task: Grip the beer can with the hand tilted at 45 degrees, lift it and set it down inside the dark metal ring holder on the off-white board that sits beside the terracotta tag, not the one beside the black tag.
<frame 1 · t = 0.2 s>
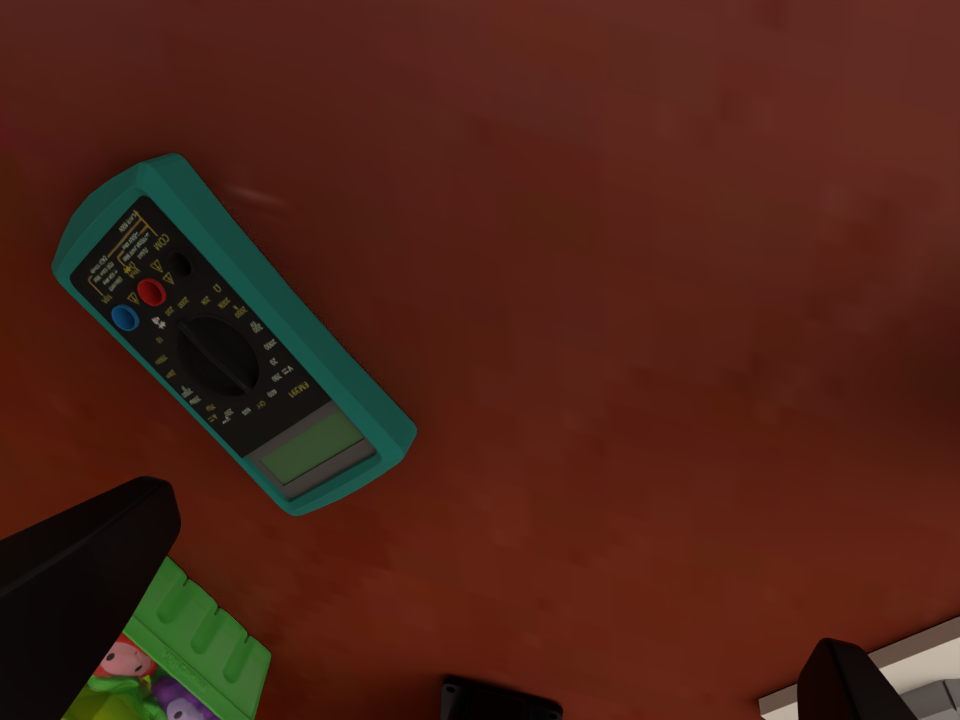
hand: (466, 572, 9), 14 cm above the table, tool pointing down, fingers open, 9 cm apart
digital multimeter: (261, 335, 27), on the table
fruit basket: (193, 615, 38), on the table
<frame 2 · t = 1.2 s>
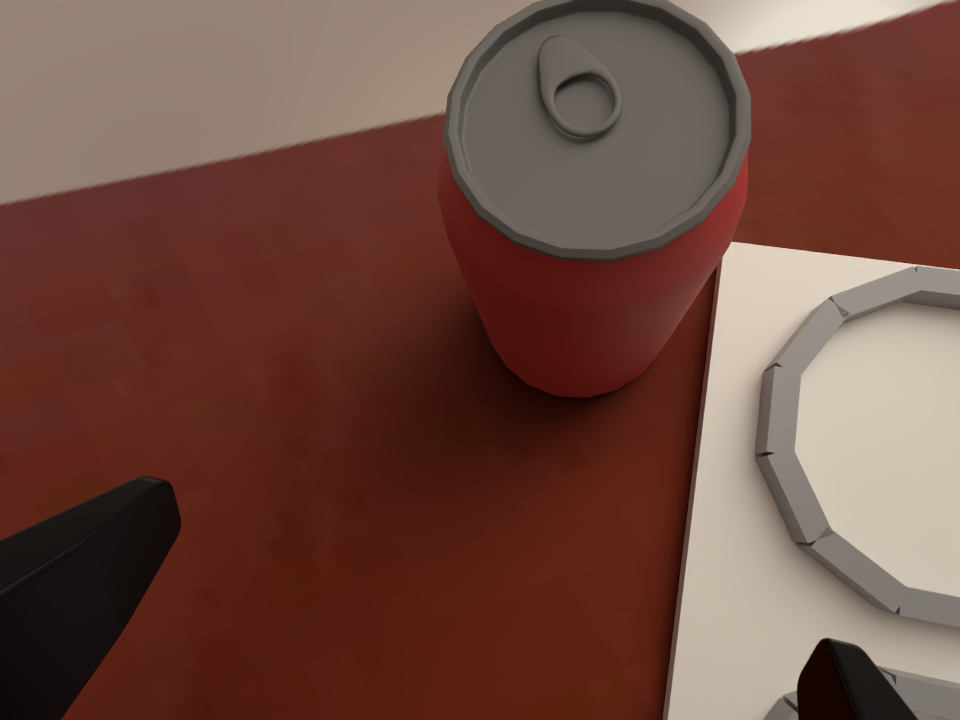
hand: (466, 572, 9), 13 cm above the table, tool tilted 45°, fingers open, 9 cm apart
beer can: (575, 314, 23), on the table
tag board: (911, 641, 19), on the table
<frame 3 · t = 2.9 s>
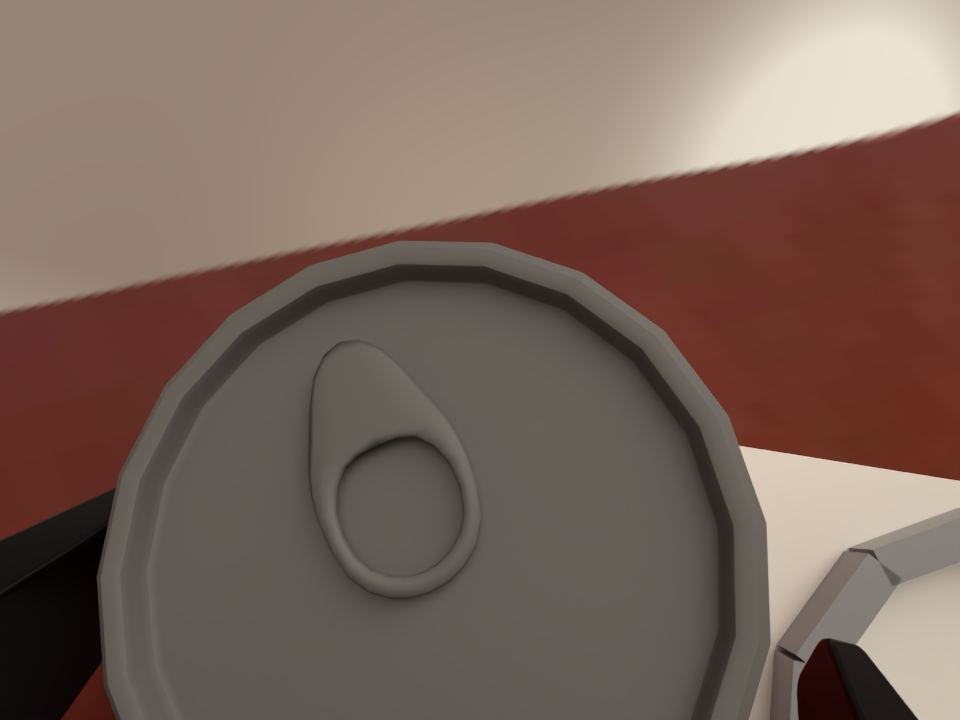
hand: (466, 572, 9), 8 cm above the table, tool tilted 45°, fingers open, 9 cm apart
beer can: (512, 533, 17), on the table
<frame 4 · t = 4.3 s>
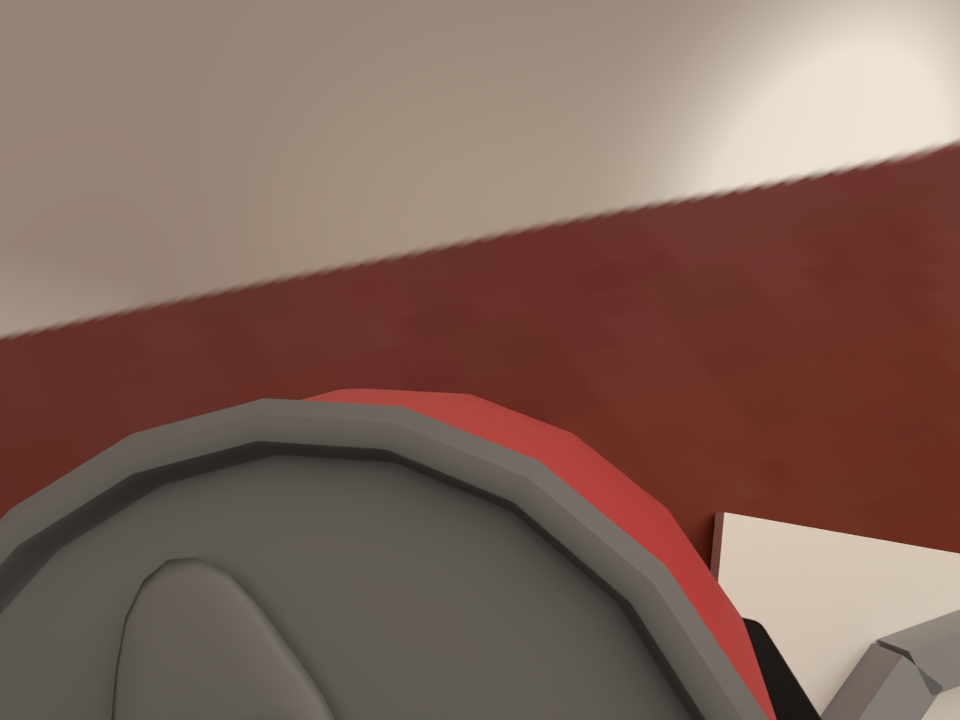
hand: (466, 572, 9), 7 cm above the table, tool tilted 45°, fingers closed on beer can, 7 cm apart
beer can: (493, 609, 15), on the table, touching gripper
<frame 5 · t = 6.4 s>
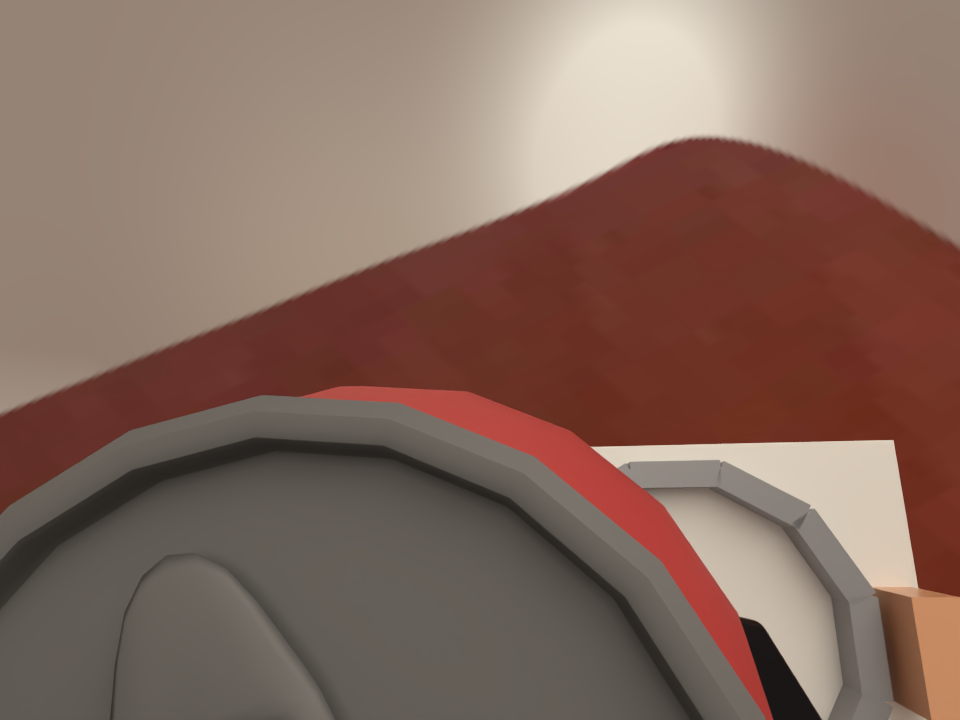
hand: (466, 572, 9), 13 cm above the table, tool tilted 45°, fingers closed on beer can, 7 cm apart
beer can: (492, 607, 15), point 6 cm above the table, touching gripper
when the fingers open (9 cm above the table, at t = 8.7 s): beer can drops 2 cm, resting on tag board.
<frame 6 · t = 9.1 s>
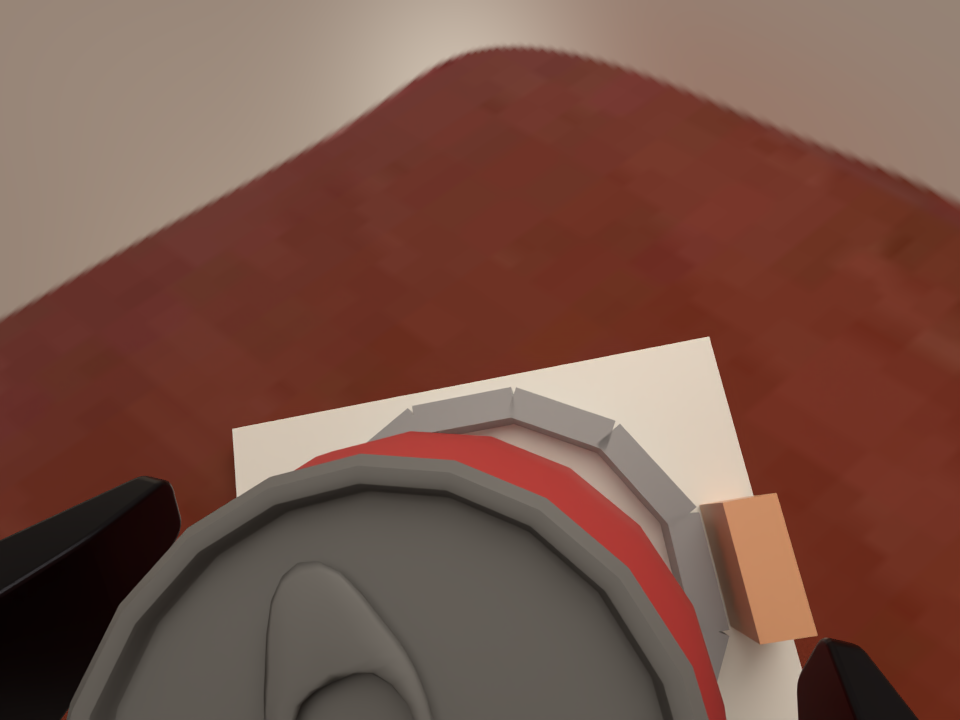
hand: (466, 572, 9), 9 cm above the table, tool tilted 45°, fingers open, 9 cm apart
beer can: (499, 606, 17), point 1 cm above the table, touching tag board
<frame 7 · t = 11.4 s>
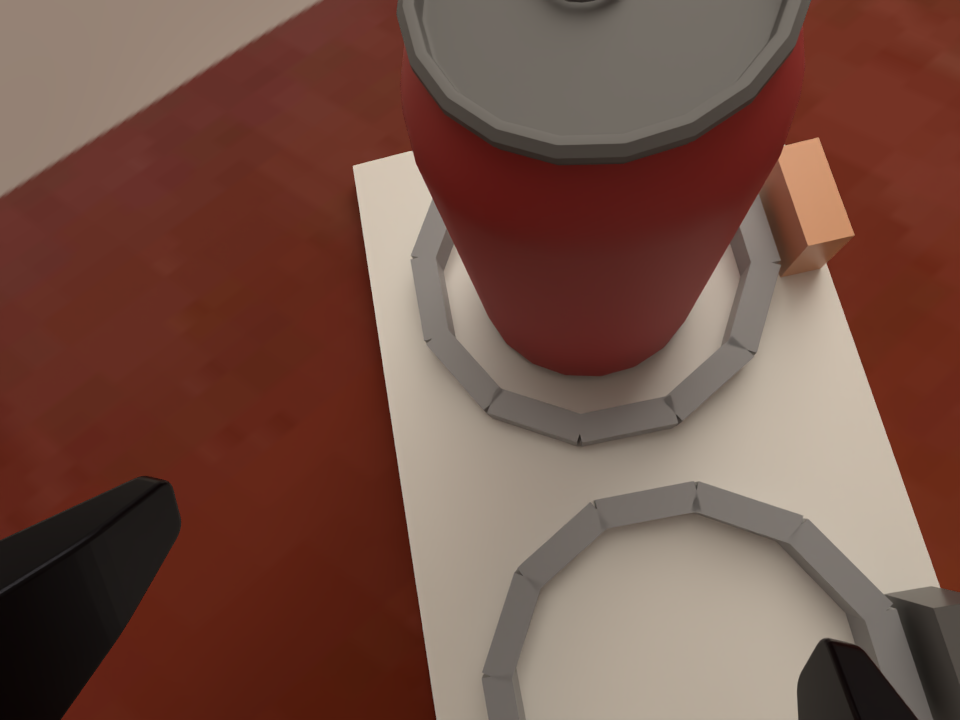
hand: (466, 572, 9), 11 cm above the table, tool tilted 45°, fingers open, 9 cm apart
beer can: (585, 281, 20), point 1 cm above the table, touching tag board
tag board: (630, 465, 19), on the table
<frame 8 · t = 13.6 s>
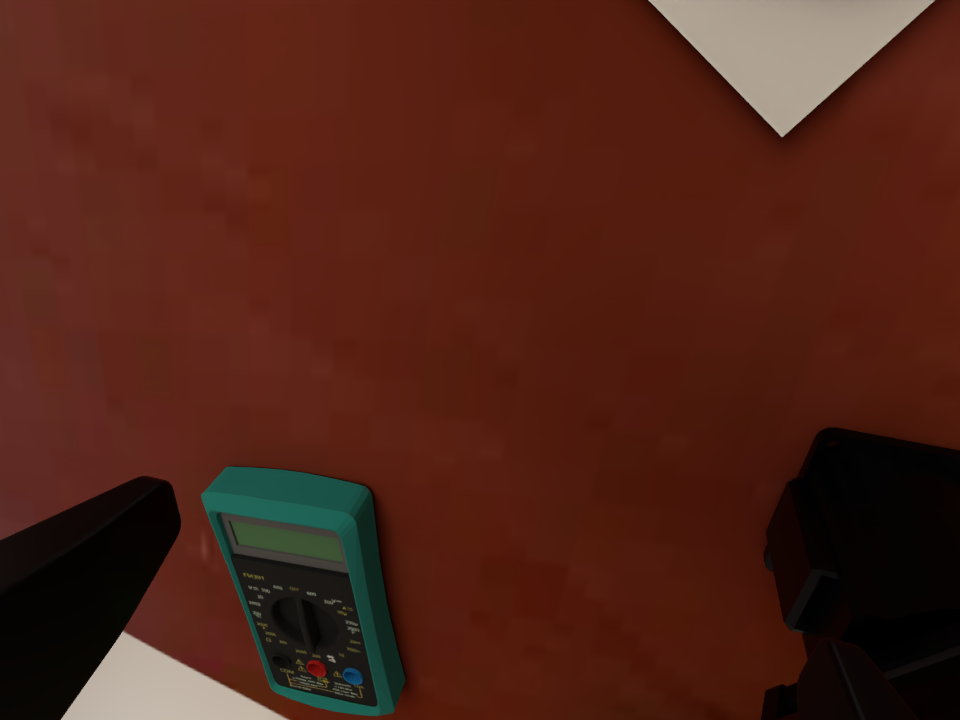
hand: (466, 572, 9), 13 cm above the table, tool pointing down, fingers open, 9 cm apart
digital multimeter: (328, 572, 32), on the table
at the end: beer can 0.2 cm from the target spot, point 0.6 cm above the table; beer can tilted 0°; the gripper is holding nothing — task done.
